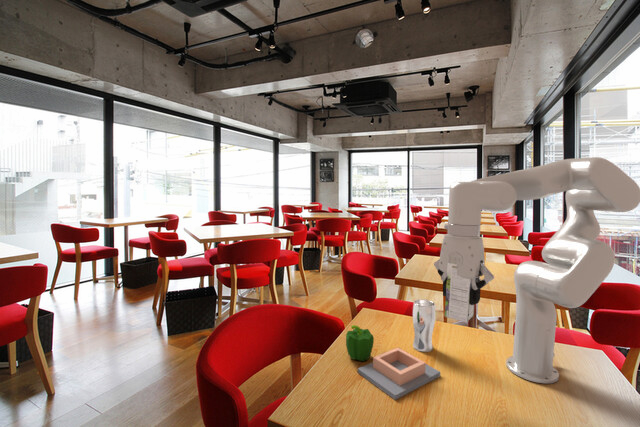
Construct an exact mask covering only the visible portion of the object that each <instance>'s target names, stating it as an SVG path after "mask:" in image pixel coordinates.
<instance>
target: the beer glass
mask: <svg viewBox="0 0 640 427" xmlns="http://www.w3.org/2000/svg"><path fill="white" fill-rule="evenodd" d="M435 323H436V303H435V302H434V301H432V300H429V299H424V298H422V299H421V298H419V299H416V300H414V301H413V306H412V324H413V331H414V337H413V338H414V339H413V341H412V342H413V344H412V347H413V348H414V350H416V351H418V352H422V353H430V352H432V351H433V350H434V349H433V348H434V347H433V342H432V337H433V332H434V329H435Z"/></svg>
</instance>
